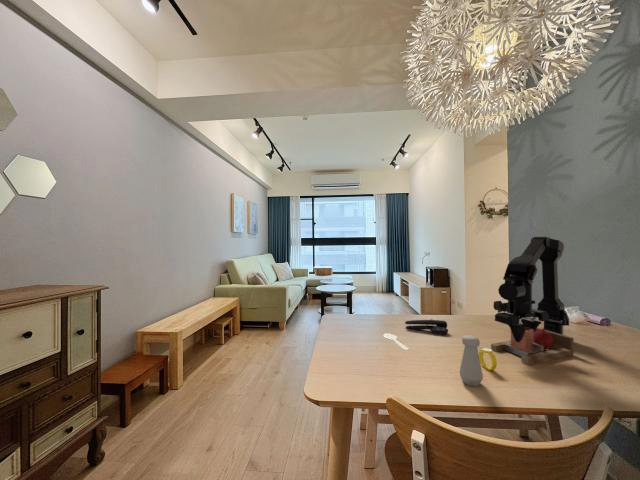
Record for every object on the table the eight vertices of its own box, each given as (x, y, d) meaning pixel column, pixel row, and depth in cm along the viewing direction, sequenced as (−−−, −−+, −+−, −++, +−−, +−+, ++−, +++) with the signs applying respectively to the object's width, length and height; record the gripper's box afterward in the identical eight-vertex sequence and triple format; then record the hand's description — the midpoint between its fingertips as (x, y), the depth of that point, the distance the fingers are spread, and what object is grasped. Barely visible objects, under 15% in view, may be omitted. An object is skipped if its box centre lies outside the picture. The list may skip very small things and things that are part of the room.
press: (518, 346, 101) (518, 322, 101) (543, 356, 93) (543, 329, 93) (504, 349, 99) (504, 324, 98) (528, 359, 91) (528, 332, 91)
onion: (557, 353, 95) (557, 331, 95) (538, 352, 96) (538, 330, 96) (547, 347, 101) (546, 325, 101) (529, 346, 102) (529, 324, 102)
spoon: (400, 351, 99) (400, 350, 99) (380, 334, 117) (380, 333, 117) (413, 350, 100) (413, 348, 100) (392, 333, 118) (392, 332, 118)
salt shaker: (455, 377, 80) (454, 333, 80) (473, 376, 80) (473, 332, 80) (467, 388, 74) (467, 340, 74) (487, 387, 74) (487, 340, 74)
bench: (533, 341, 106) (533, 326, 106) (573, 355, 94) (573, 337, 94) (491, 349, 100) (490, 332, 100) (527, 364, 87) (527, 346, 87)
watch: (477, 365, 88) (476, 346, 88) (484, 364, 88) (483, 346, 89) (491, 373, 82) (490, 352, 82) (499, 372, 82) (498, 352, 83)
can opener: (448, 331, 120) (447, 318, 120) (448, 336, 113) (448, 323, 113) (406, 326, 127) (405, 314, 127) (404, 331, 121) (403, 318, 121)
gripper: (518, 290, 106) (518, 330, 106) (481, 294, 100) (481, 336, 100) (549, 296, 95) (550, 341, 95) (510, 300, 90) (510, 348, 90)
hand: (521, 341), depth 95 cm, fingers closed on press, 4 cm apart
